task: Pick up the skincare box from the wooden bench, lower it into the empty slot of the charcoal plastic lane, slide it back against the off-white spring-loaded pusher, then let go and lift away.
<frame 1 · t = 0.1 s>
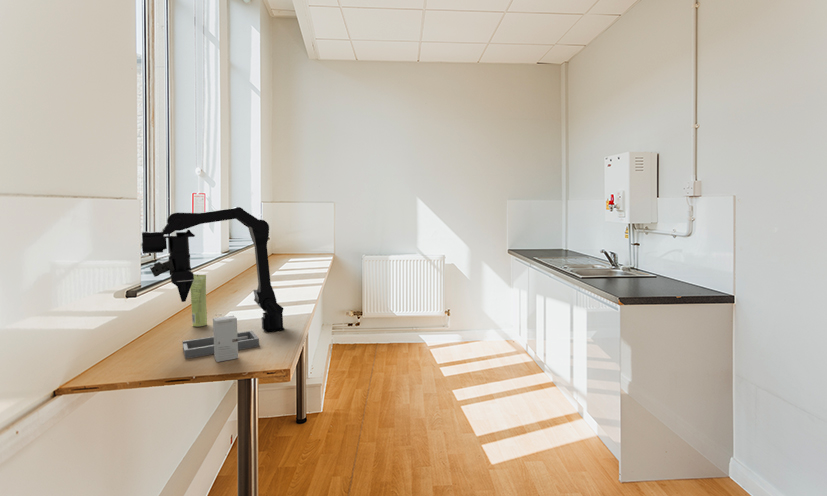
hand: (182, 299, 146), 15 cm above the counter, tool pointing down, fingers open, 9 cm apart
skincare box: (226, 359, 132), on the counter
lane: (221, 347, 142), on the counter
tube: (200, 325, 170), on the counter
pusher: (230, 340, 143), point 2 cm above the counter, slide at 0.0 cm
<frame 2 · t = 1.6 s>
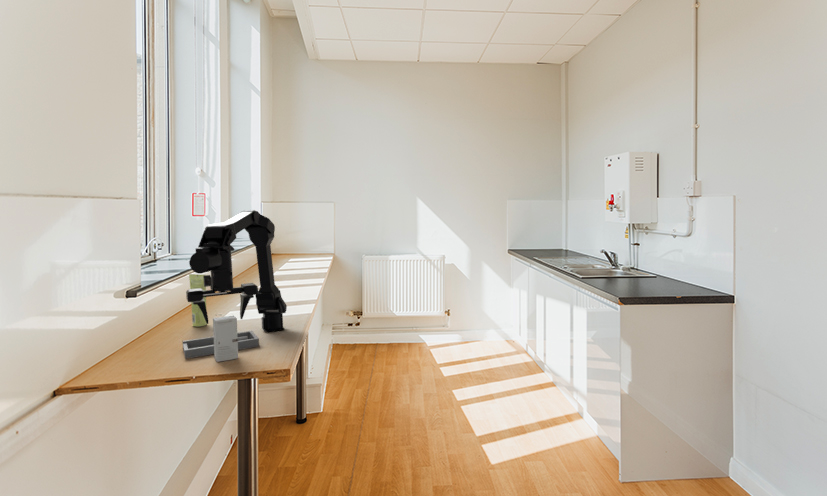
hand: (224, 321, 131), 11 cm above the counter, tool pointing down, fingers open, 9 cm apart
nothing on the counter moved.
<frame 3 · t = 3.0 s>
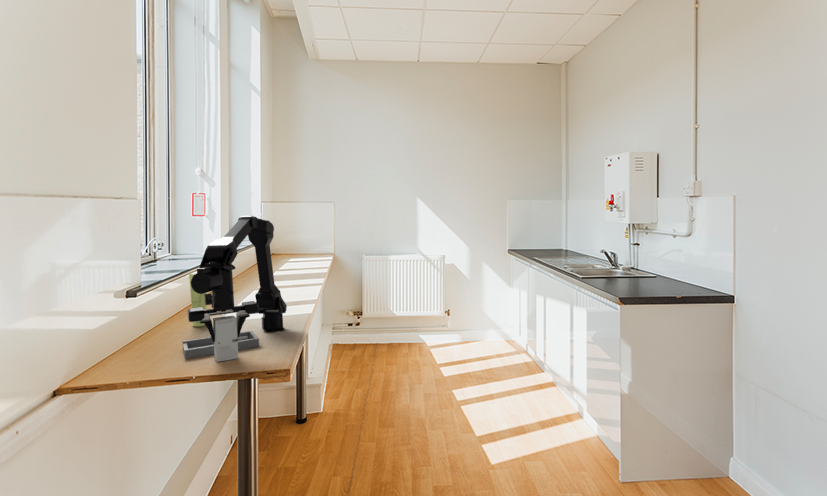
hand: (225, 339, 131), 6 cm above the counter, tool pointing down, fingers closed on skincare box, 6 cm apart
skincare box: (226, 358, 132), on the counter, touching gripper
everything else where it was.
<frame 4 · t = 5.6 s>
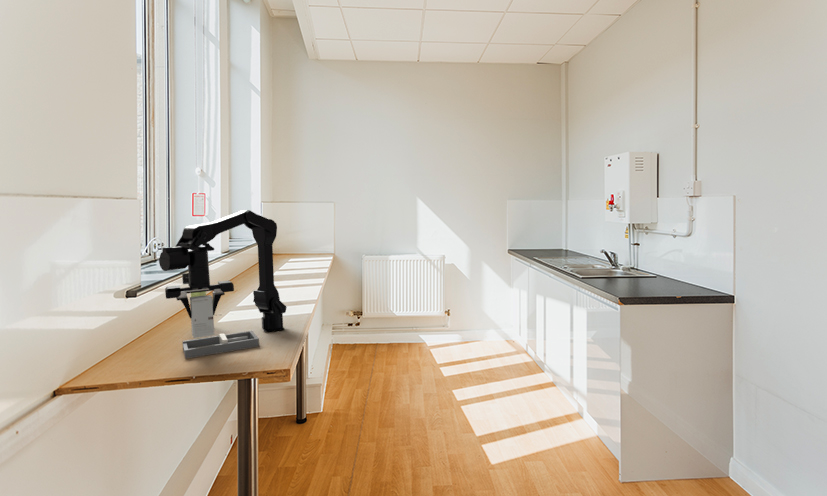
hand: (202, 316, 139), 11 cm above the counter, tool pointing down, fingers closed on skincare box, 6 cm apart
skincare box: (203, 335, 139), point 5 cm above the counter, touching gripper
everything else where it was.
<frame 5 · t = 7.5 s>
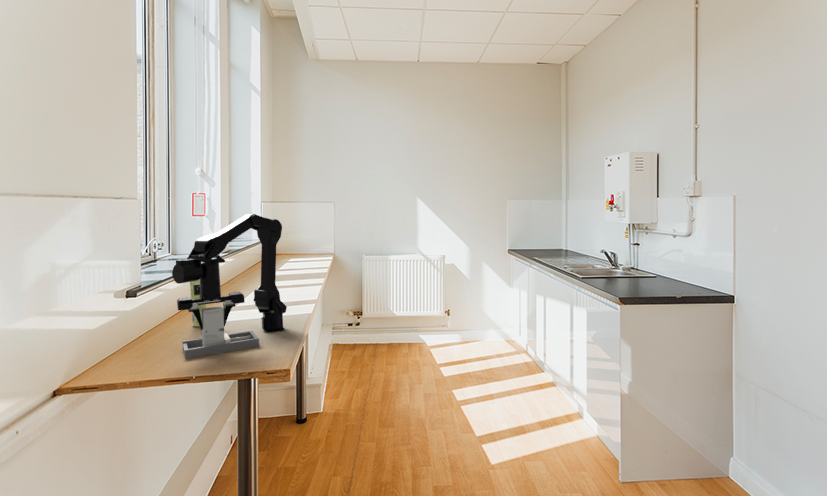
hand: (213, 327, 140), 7 cm above the counter, tool pointing down, fingers closed on skincare box, 6 cm apart
skincare box: (214, 347, 141), point 1 cm above the counter, touching gripper, pusher
pusher: (233, 339, 144), point 2 cm above the counter, slide at -0.8 cm, touching skincare box
everything else where it was.
when the fingers open (7 cm above the counter, at t = 8.4 s): skincare box stays where it is, resting in lane.
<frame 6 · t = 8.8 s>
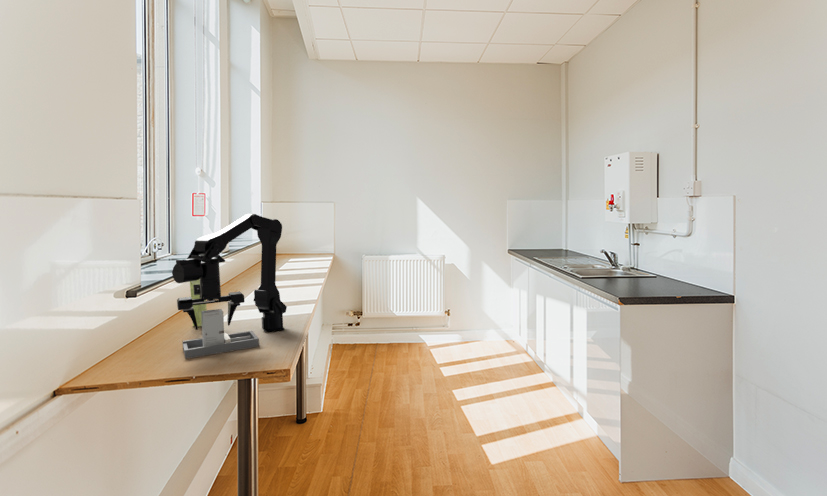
hand: (212, 327, 140), 7 cm above the counter, tool pointing down, fingers open, 9 cm apart
skincare box: (214, 349, 141), resting in lane
pusher: (233, 339, 144), point 2 cm above the counter, slide at -0.9 cm
everything else where it was.
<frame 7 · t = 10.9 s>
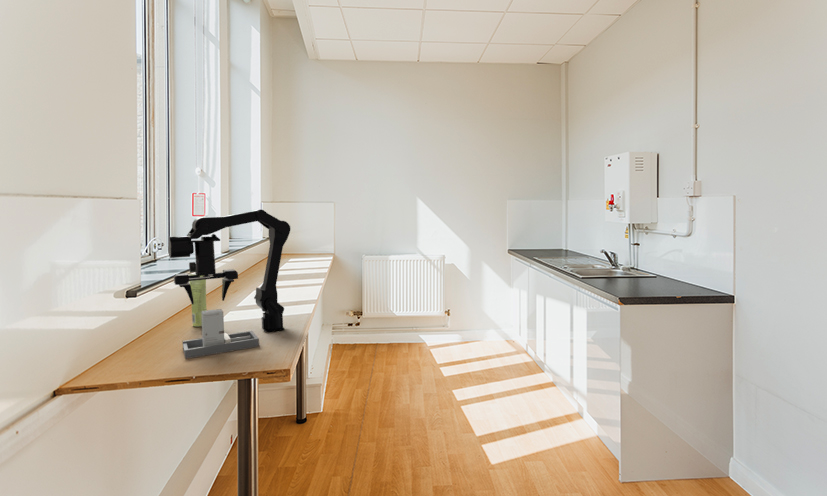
hand: (208, 302, 148), 13 cm above the counter, tool pointing down, fingers open, 9 cm apart
nothing on the counter moved.
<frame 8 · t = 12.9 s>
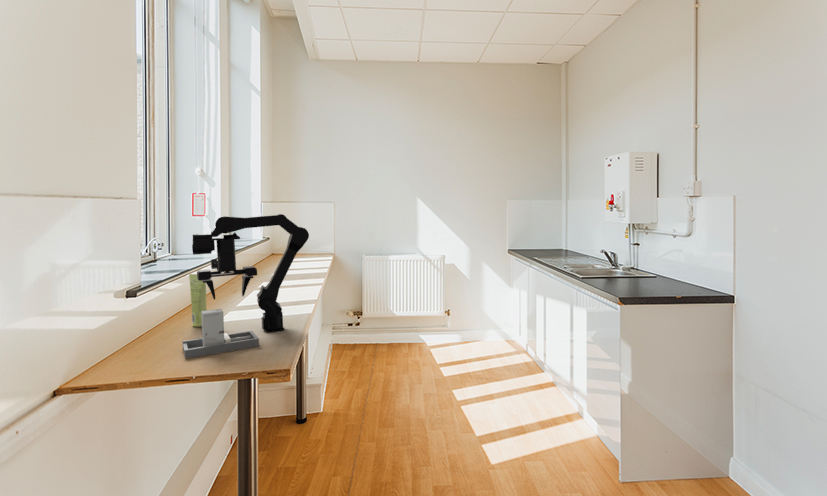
hand: (228, 297, 155), 13 cm above the counter, tool pointing down, fingers open, 9 cm apart
nothing on the counter moved.
at the end: skincare box 2.4 cm from the target spot on the lane, point 0.0 cm above the lane's base; skincare box tilted 0°; the gripper is holding nothing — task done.
